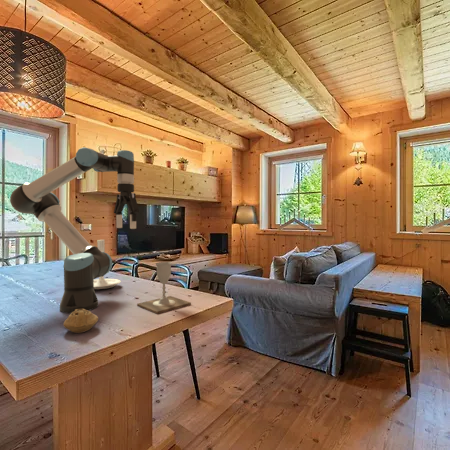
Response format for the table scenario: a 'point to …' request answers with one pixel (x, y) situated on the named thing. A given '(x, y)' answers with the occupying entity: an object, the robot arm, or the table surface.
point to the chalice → (163, 278)
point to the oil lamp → (80, 321)
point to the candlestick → (102, 282)
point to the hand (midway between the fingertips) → (126, 228)
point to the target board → (163, 305)
